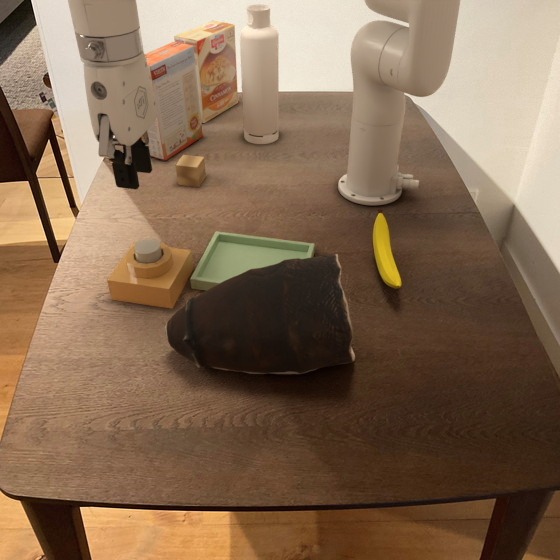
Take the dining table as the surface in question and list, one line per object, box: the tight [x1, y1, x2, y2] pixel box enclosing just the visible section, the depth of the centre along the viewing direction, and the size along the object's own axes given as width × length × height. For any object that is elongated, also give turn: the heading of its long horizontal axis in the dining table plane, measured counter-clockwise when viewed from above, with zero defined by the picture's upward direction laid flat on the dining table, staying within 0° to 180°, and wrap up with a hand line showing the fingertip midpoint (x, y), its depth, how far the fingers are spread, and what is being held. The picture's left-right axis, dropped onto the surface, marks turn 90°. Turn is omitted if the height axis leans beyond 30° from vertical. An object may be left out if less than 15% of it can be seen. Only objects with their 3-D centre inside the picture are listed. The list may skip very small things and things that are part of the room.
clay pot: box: [164, 253, 356, 375], centre depth 78 cm, size 15×15×25 cm
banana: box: [372, 208, 402, 289], centre depth 93 cm, size 3×19×6 cm, turn 1°
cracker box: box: [144, 41, 204, 161], centre depth 124 cm, size 14×6×21 cm, turn 149°
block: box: [175, 154, 207, 188], centre depth 117 cm, size 4×4×4 cm
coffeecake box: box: [173, 20, 239, 124], centre depth 140 cm, size 15×7×20 cm, turn 149°
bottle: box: [239, 4, 280, 145], centre depth 126 cm, size 8×8×28 cm
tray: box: [189, 230, 316, 292], centre depth 95 cm, size 18×14×2 cm
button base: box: [106, 241, 195, 310], centre depth 91 cm, size 10×10×6 cm
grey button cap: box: [134, 237, 162, 264], centre depth 89 cm, size 4×4×2 cm
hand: (134, 178), depth 81 cm, fingers open, 3 cm apart
